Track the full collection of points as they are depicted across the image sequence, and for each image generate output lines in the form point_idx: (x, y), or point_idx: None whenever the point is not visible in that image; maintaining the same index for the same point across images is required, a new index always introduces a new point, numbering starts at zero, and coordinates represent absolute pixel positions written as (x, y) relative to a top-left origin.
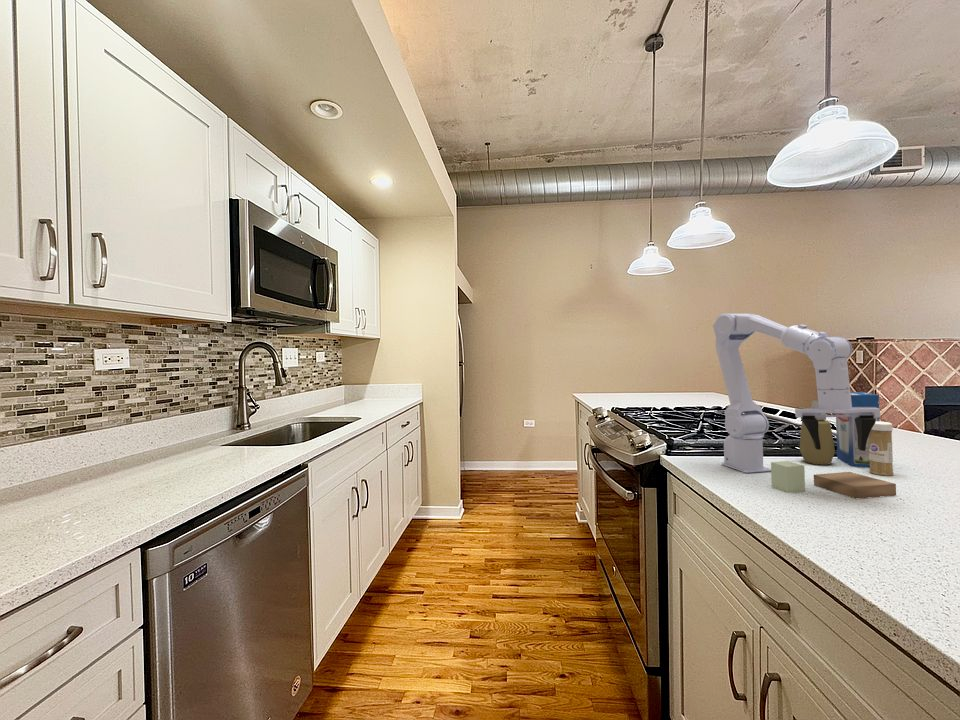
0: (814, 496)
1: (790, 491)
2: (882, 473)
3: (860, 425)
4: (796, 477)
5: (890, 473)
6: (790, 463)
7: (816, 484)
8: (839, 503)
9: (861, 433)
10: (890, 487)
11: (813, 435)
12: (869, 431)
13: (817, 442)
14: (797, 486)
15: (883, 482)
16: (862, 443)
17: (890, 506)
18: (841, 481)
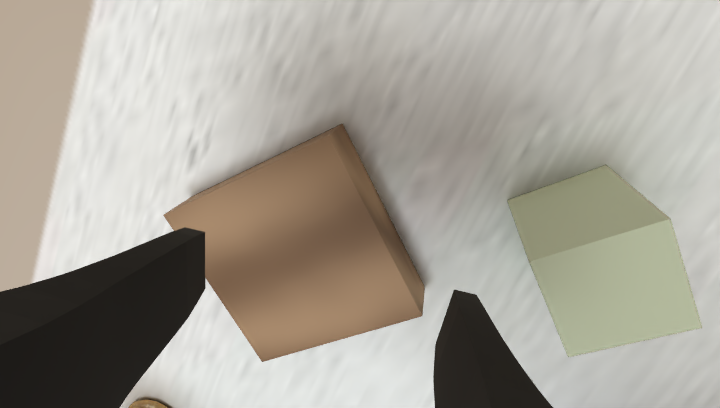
0: (508, 122)
1: (590, 172)
2: (155, 406)
3: (17, 378)
4: (571, 212)
5: (134, 405)
6: (587, 303)
7: (419, 280)
8: (447, 31)
9: (97, 301)
10: (191, 199)
11: (530, 383)
12: (8, 292)
13: (483, 326)
14: (554, 194)
15: (198, 228)
16: (163, 248)
17: (259, 41)
18: (352, 221)
